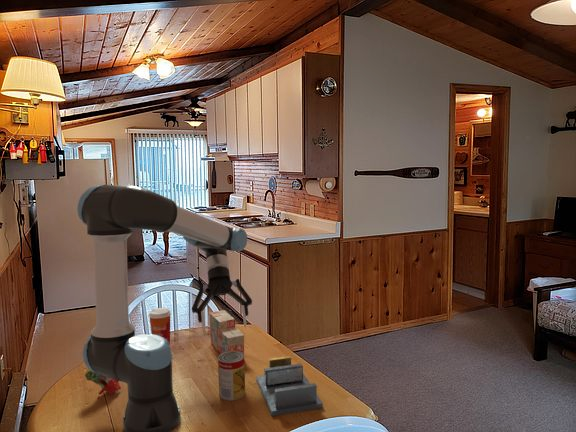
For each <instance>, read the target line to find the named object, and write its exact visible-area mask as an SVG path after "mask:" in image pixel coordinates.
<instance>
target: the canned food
mask: <svg viewBox="0 0 576 432" xmlns="http://www.w3.org/2000/svg"><path fill="white" fill-rule="evenodd" d="M217 363H218V364H217V370H218V392H219V393H218V394H219V395H218V396H219V397H220V399H222V400H224V401H236V400H240V399H242V398H243V397H244V396H245V395H246V376H245V375H246V374H245V373H246V371H245V370H246V369H245V353H244V354H243V353H241V352H237V351H229V352H224V353H222V354H221V353H220V354H219V355H218V356H217Z"/></svg>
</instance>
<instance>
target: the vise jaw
mask: <svg viewBox="0 0 576 432" xmlns="http://www.w3.org/2000/svg"><path fill="white" fill-rule="evenodd" d="M263 369H264V370H263V371H264V372H263V373H264V375H265V385H272V384H278V383H285V382H292V381H299V380H303V374H304V366H303V364H302V363H296V364H292V356H291V355H286V356H278V357H270V358H268V367H267V368H263ZM264 375H263V376H264Z"/></svg>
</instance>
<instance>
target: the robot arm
mask: <svg viewBox="0 0 576 432" xmlns="http://www.w3.org/2000/svg"><path fill="white" fill-rule="evenodd" d="M76 208H77V216H78V217H79V219H80V220H81V221H82V223H83V224H84V225H86V231H87V234H86V235H87V236H88V238H90V239H91V240H92V241H93V259H94V260H93V261H94V263H93V264H94V287H95V289H94V290H95V291H94V292H95V293H94V294H95V317H96V318H95V319H96V322H95V323H96V325H95V326H94V327H93V329H91V331H90V336H89V337H88V338H87V340H86V343H85V344H84V346H83V350H82V358H83V359H82V360H83V363H84V365H85V366H86V367H87V369H89V370H91V371H92V372H94V373H96V374H98V375H100V376H104V377H109V378H112V379H115V380H118V381H119V382H122V383H124V384H126V385H127V393H128V394H127V398H128V399H127V403H126V405H125V407H126V408H125V411H124V415H123V418H122V426H123V428H122V429H123V431H124V432H171V431H173V430H174V429H176V428H177V427H178V425H179V424H180V422H181V420H182V417H181V408H180V406H179V404H178V403H177V400H176V395H175V394H174V392H173V389H174V387H173V362H172V361H173V357H172V354H173V353H172V352H171V343H170V344H169V342H168V341H167V340H166V339H165V338H163V337H161V336H158V335H154V334H151V333H149V334H147V333H143V334H142V333H141V334H136V330H135V325H133V323H131V322H130V316H129V314H130V313H129V310H130V309H129V308H130V307H129V281H128V279H129V277H128V274H129V273H128V238H129V237H130V236H131V235H132V234H133V230H142V231H144V230H146V231H154V232H157V233H167V232H169V233H171V234H176V235H179V236H182V238H183V240H184V241H186V242H187V243H188V244H189V245H191V246H194V247H195V248H197V249H199V250H201V251H203V252H204V254H205V259H206V261H205V262H206V270H207V280H208V281H207V282H208V283H207V284H203V283H200V284H199V289H198V293H197V295H196V297H195V300H194V302H193V303H192V307H191V312H192V313H193V314H194V313H196V314H197V320H198V321H197V322H198V324H201V327H202V334H203V333H206V325H205V323H206V322H205V312H204V310H205V308H206V307H207V305H208V304H209V303H210V301H211V300H212V299H213V298H214V297H215V296H216V297H220V296H226V295H229V296H230V297H232V298H233V299H234V300H235V301H236V302H237V303H239V304H240V305H241V313H242V319H243V327H244V328H245V327H247V324H248V323H247V318H246V317H248V316H249V306H251V305H252V304H253V300H252V298H251V296H250V295H249V294H248V293H247V291H246V290H245V289H244V287H243V285H242V284H241V281H240V279H239V278H236V280H233V281H232V280H231V275H230V269H229V267H230V266H229V260H228V253H227V251H232V252H241V251H243V250H245V248H246V247H247V243H248V234H247V232H246V231H245V229H243V228H238V227H230V226H229V225H225V224H222V223H220V222H219V221H215V220H213V219H210V218H208V217H205V216H203V215H200V214H199V213H196V212H193V211H190V210H188V209H186V208H183V207H180V206H178V205H177V203H176V201H175V200H173V199H171V198H169V197H165V196H163V195H161V194H159V193H157V192H155V191H151V190H149V189H147V188H144V187H140V186H137V185H123V184H122V185H119V184H100V185H98V184H96V185H93V186H91V187H89V188H87V189H86V190H85V191H84V192H83V193H82V194H81V196H80V197H79V200H78V202H77V207H76ZM232 286H234V287H235V288H237V290H238V292H240V294H241V296H242V297H241V296H240V295H239V294H238V293H237V292H236V291H235V290H233V289H232ZM207 289H208V291H209V292H208V294H207V295H206V297H205V298H204V299H203V301H202V297H203V295H204V292H206V291H207ZM201 301H202V302H201ZM200 302H201V303H200ZM199 304H200V305H199Z"/></svg>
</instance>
